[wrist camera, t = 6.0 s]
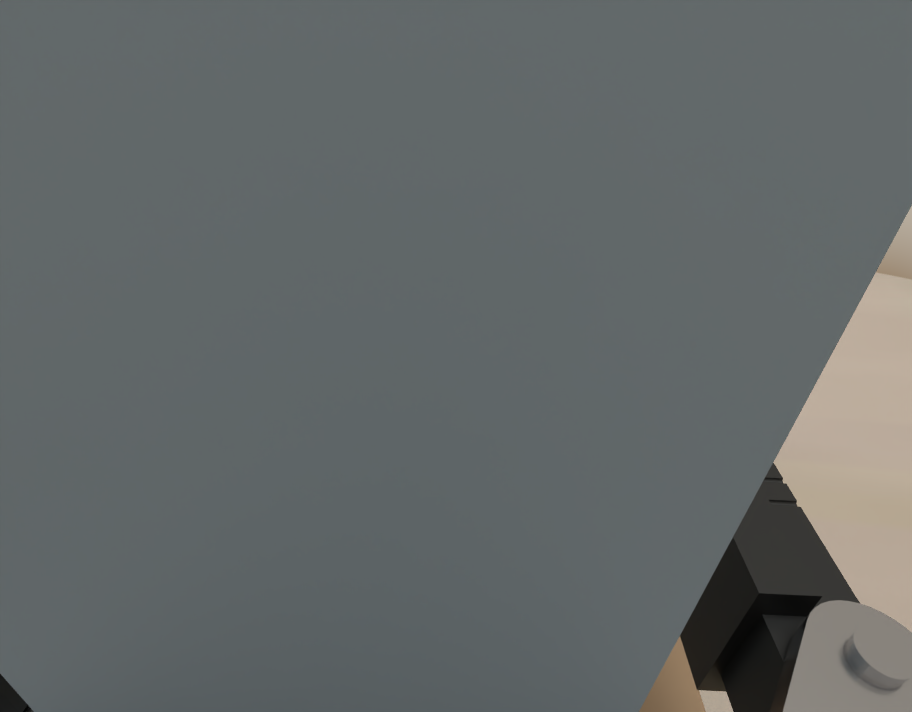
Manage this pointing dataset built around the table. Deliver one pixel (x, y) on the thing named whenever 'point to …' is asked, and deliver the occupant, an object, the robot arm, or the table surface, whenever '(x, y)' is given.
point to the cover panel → (412, 333)
